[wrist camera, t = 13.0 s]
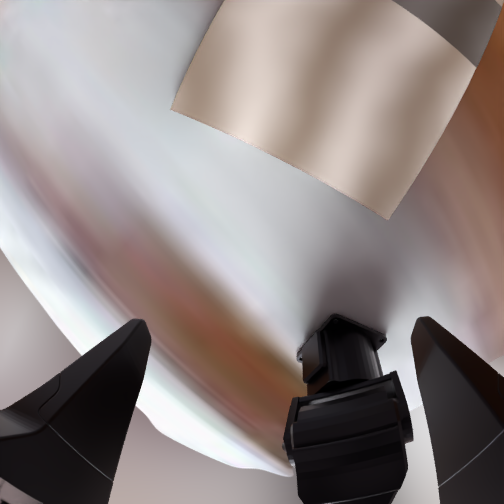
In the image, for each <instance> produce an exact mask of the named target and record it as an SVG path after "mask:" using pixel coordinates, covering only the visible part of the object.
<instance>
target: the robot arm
mask: <svg viewBox="0 0 504 504" xmlns="http://www.w3.org/2000/svg"><path fill="white" fill-rule="evenodd" d="M335 319H337V320H336V321H333V320H335ZM386 341H387V338H386V335H385V334H382V333H380V332H378V331H375V330H373V329H371V328H368V327H366V326H364V325H361V324H359V323H357V322H354V321H352V320H350V319H347V318H345V317H343V316H340V315H338V314H334V315H332V316H330V318H329V319H328V320H327V321H326V322H325V323H324V325H323V326H322V327H321V328H320V329H319V330H318V331H316V332H315V333H314V335H313V336H312V337H311V338H310V339H309V340H308V341H307V343H306V344H305V345H304V346H303V347H302V350H301V351H300V352H299V353H298V354H297V361H298V362H300V363H302V366H303V381H304V383H306V384H307V396H304V397H294V398H292V403H291V406H290V409H289V414H288V419H287V423H286V428H285V432H284V437H283V440H284V442H283V444H282V448H283V450H284V451H285V452H287V456H288V459H289V462H290V464H291V465H292V466H293V467H295V468H296V474H297V485H298V486H297V487H298V496H299V498H300V499H301V500H302V502H303V503H304V504H391V503H392V501H393V499H394V498H395V495H396V494H397V492H398V490H399V489H400V488H401V486H402V484H403V481H404V479H405V476H406V473H407V470H408V462H407V455H406V449H405V444H406V443H408V442H412V441H413V429H412V423H411V418H410V413H409V409H408V405H407V401H406V398H405V395H404V392H403V389H402V386H401V383H400V380H399V377H398V374H397V371H393V372H390V374H387V375H384V376H383V373H382V369H381V365H380V361H379V357H378V353H377V350H378V349H379V348H380V347H381V346H382V345H383V344H384V343H385V342H386ZM411 345H412V350H413V356H414V362H415V369H416V375H417V381H418V385H419V389H420V393H421V397H422V401H423V406H424V409H425V414H426V419H427V424H428V428H429V433H430V438H431V444H432V449H433V455H434V460H435V467H436V473H437V480H438V486H439V488H438V489H439V497H440V504H504V377H503V376H501V375H500V374H498V372H497V371H496V370H494V369H493V368H492V367H491V366H490V365H489V364H487V363H486V362H485V361H484V360H483V359H482V358H480V357H479V356H478V355H477V354H476V353H474V352H473V351H472V350H471V349H469V348H468V347H467V346H466V345H465V344H463V343H462V342H461V341H460V340H458V339H457V338H456V337H455V336H454V335H452V334H451V333H450V332H449V331H447V330H446V329H445V328H444V327H442V326H441V325H440V324H438V323H437V322H436V321H435V320H433V319H432V318H431V317H429V316H425V317H419V318H418V319H417V320H416V323H415V326H414V329H413V332H412V335H411ZM150 346H151V335H150V333H149V330H148V327H147V325H146V322H145V321H144V320H143V319H132V320H130V321H129V322H127V323H126V324H125V325H123V326H122V327H121V328H119V329H118V330H116V331H115V332H114V333H112V334H111V335H110V336H108V337H107V338H106V339H104V340H103V341H101V342H100V343H99V344H97V345H96V346H95V347H93V348H92V349H91V350H89V351H88V352H87V353H85V354H84V355H83V356H81V357H80V358H79V359H78V360H76V361H75V362H73V363H72V364H71V365H69V366H68V367H67V368H65V369H64V370H63V371H61V373H59V374H57V375H56V376H55V377H53V378H52V379H50V380H49V381H48V382H46V383H45V384H43V385H42V386H41V387H39V388H38V389H36V390H34V391H33V392H32V393H30V394H28V395H27V396H25V397H23V398H22V399H20V400H19V401H17V402H15V403H14V404H12V405H11V406H9V407H7V408H6V409H3V410H0V504H108V502H109V498H110V493H111V489H112V486H113V481H114V477H115V473H116V470H117V466H118V462H119V459H120V455H121V451H122V448H123V445H124V441H125V438H126V434H127V431H128V427H129V424H130V421H131V417H132V414H133V411H134V408H135V405H136V401H137V398H138V395H139V392H140V389H141V386H142V383H143V379H144V375H145V370H146V365H147V360H148V356H149V351H150ZM301 357H302V358H301Z"/></svg>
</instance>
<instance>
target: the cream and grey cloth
mask: <svg viewBox="0 0 504 504" xmlns="http://www.w3.org/2000/svg"><path fill="white" fill-rule="evenodd" d="M503 2H504V0H224V2H223V4H222V5H221V7H220V9H219V10H218V12H217V14H216V16H215V18H214V19H213V21H212V23H211V25H210V27H209V29H208V30H207V32H206V34H205V36H204V38H203V40H202V42H201V44H200V46H199V48H198V50H197V52H196V54H195V56H194V58H193V60H192V62H191V64H190V66H189V68H188V70H187V73H186V75H185V77H184V79H183V81H182V83H181V86H180V88H179V90H178V92H177V95H176V97H175V99H174V102H173V104H172V106H171V109H170V110H173V111H175V112H178V113H180V114H183V115H185V116H187V117H190V118H192V119H195V120H197V121H199V122H202V123H204V124H206V125H209V126H211V127H213V128H215V129H218V130H220V131H222V132H224V133H226V134H229V135H231V136H233V137H235V138H237V139H239V140H242V141H244V142H246V143H248V144H250V145H252V146H254V147H256V148H258V149H260V150H262V151H264V152H266V153H268V154H270V155H272V156H274V157H276V158H278V159H280V160H282V161H284V162H286V163H288V164H290V165H292V166H294V167H296V168H298V169H300V170H302V171H303V172H305V173H307V174H309V175H311V176H313V177H315V178H316V179H318V180H320V181H322V182H324V183H325V184H327V185H329V186H331V187H333V188H334V189H336V190H338V191H340V192H341V193H343V194H345V195H346V196H348V197H350V198H352V199H353V200H355V201H357V202H358V203H360V204H362V205H363V206H365V207H367V208H368V209H370V210H372V211H373V212H375V213H376V214H378V215H380V216H381V217H383V218H385V219H386V220H389V218H390V217H391V215H392V214H393V212H394V211H395V209H396V208H397V206H398V205H399V203H400V202H401V200H402V199H403V197H404V196H405V194H406V193H407V191H408V189H409V188H410V186H411V185H412V183H413V182H414V180H415V178H416V177H417V175H418V174H419V172H420V170H421V169H422V167H423V165H424V164H425V162H426V161H427V159H428V157H429V156H430V154H431V152H432V150H433V149H434V147H435V145H436V144H437V142H438V140H439V138H440V137H441V135H442V133H443V131H444V130H445V128H446V126H447V124H448V122H449V121H450V119H451V117H452V115H453V113H454V111H455V109H456V108H457V106H458V104H459V102H460V100H461V98H462V96H463V94H464V92H465V90H466V88H467V86H468V84H469V82H470V80H471V78H472V76H473V74H474V72H475V70H476V68H477V66H478V64H479V62H480V60H481V57H482V55H483V53H484V51H485V48H486V46H487V44H488V42H489V39H490V37H491V34H492V32H493V29H494V27H495V24H496V22H497V19H498V17H499V14H500V11H501V9H502V5H503Z"/></svg>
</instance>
